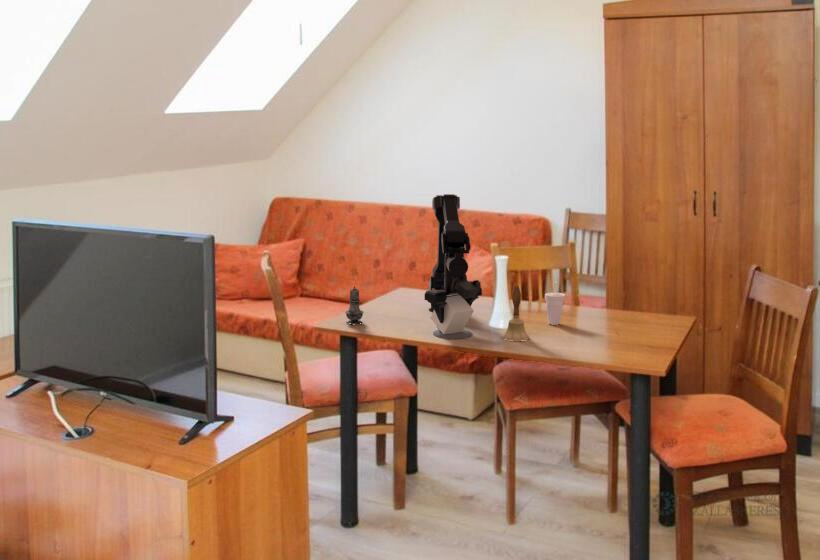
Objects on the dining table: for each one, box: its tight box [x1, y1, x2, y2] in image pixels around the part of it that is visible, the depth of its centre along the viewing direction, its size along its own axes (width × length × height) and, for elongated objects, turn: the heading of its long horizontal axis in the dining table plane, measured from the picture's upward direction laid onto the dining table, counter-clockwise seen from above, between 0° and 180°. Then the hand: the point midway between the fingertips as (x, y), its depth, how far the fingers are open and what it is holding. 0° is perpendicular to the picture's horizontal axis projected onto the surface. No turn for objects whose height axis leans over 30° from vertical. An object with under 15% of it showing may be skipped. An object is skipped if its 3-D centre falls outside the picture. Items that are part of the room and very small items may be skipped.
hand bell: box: [501, 285, 530, 342], centre depth 291 cm, size 8×8×16 cm
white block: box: [429, 295, 475, 334], centre depth 296 cm, size 8×8×9 cm
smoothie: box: [544, 280, 566, 326], centre depth 308 cm, size 6×6×14 cm
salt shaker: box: [344, 285, 365, 325], centre depth 307 cm, size 6×6×12 cm
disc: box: [432, 329, 474, 340], centre depth 296 cm, size 12×12×1 cm
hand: (453, 320), depth 296 cm, fingers open, 9 cm apart
